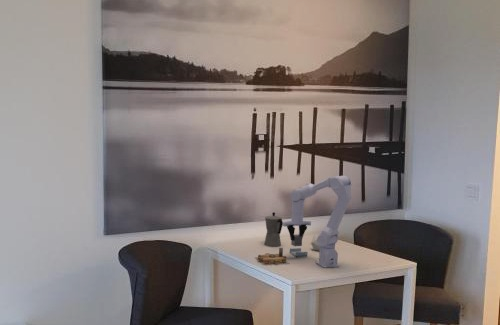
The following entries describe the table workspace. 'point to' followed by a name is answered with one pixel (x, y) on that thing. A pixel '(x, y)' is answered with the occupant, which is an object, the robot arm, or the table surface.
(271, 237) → the coffeepot
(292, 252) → the seat
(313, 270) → the table surface
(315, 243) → the grey faceted polyhedron
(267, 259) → the sprocket
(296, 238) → the dark grey block
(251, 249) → the table surface
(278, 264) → the thin square base plate
